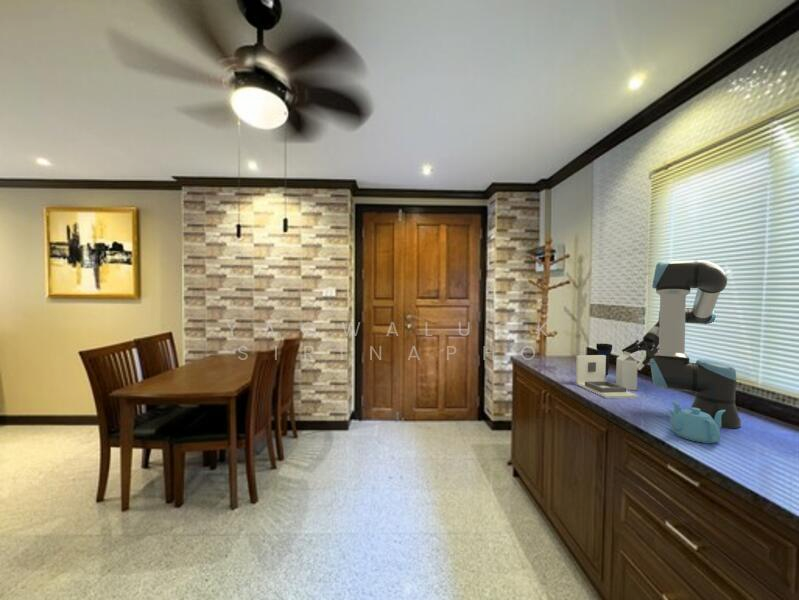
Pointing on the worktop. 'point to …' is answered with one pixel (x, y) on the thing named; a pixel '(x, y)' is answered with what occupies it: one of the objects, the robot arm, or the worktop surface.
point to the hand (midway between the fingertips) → (627, 365)
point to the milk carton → (626, 371)
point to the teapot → (695, 424)
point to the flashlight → (605, 353)
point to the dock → (598, 377)
